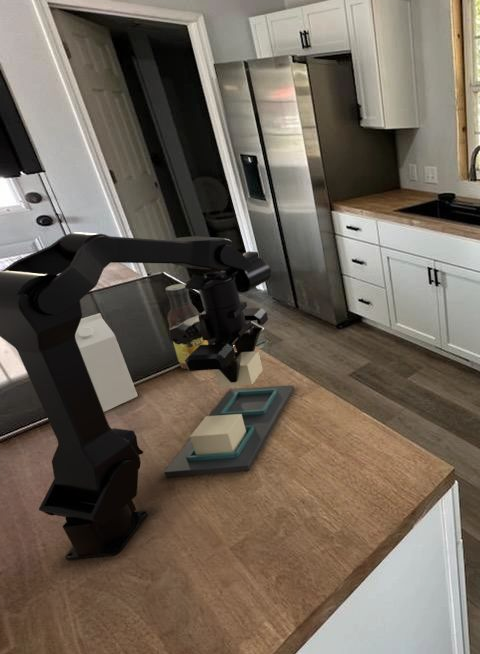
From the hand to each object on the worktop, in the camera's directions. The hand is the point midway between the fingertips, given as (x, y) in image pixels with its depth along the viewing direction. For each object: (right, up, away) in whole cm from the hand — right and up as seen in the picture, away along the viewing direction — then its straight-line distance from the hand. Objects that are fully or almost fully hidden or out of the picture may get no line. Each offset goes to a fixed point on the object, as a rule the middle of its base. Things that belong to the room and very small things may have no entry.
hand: (240, 373), depth 81 cm
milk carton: (-30, -7, +4) cm, 31 cm away
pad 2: (+2, -11, -7) cm, 13 cm away
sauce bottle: (-22, -2, +18) cm, 28 cm away
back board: (+1, -10, -2) cm, 10 cm away
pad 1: (0, -1, 0) cm, 1 cm away
